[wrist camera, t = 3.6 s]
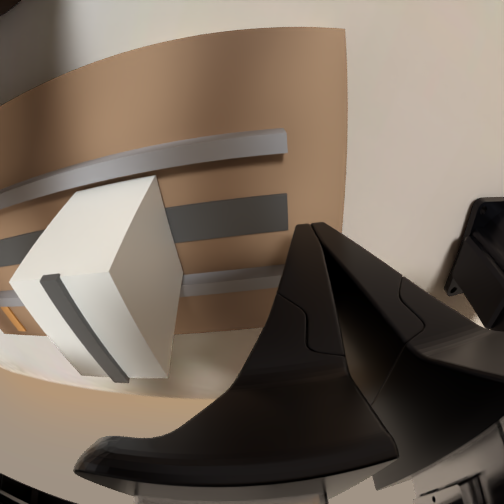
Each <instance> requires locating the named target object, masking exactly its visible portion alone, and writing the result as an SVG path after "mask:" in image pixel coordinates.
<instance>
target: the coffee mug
mask: <svg viewBox="0 0 504 504" xmlns="http://www.w3.org/2000/svg"><path fill="white" fill-rule="evenodd" d="M20 1H21V0H0V16H1V15H3V14H5V13H6V12H7V11H9V10H10V9H11V8H13V7H14V6H15V5H16V4H18V3H19V2H20Z"/></svg>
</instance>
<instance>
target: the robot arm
mask: <svg viewBox="0 0 504 504" xmlns="http://www.w3.org/2000/svg"><path fill="white" fill-rule="evenodd" d="M444 290H445V292H446V294H447V295H448V296H453V295H457V294H461V293H464V295H465V296H466V298H467V299H468V301H469V302H470V304H471V306H472V307H473V309H474V310H475V312H476V314H477V315H478V317H479V319H480V320H481V322H482V324H483V325H484V327H485V328H486V329H485V328H483V327H481V326H479V325H477V324H476V323H474V322H472V321H471V320H469V319H468V318H466V317H465V316H463V315H461V314H460V313H458V312H457V311H455V310H454V309H452V308H450V307H449V306H447V305H446V304H444V303H442V302H441V301H439V300H438V299H436V298H435V297H433V296H432V295H430V294H428V293H427V292H425V291H424V290H423V289H421V288H420V287H418V286H417V285H415V284H414V283H413V282H411V281H410V280H408V279H407V278H406V277H404V276H403V277H402V275H401V274H400V273H399V272H397V271H396V270H394V269H393V268H392V267H390V266H389V265H387V264H386V263H384V262H383V261H382V260H380V259H379V258H377V257H376V256H374V255H373V254H371V253H370V252H369V251H367V250H366V249H364V248H363V247H361V246H360V245H358V244H357V243H355V242H354V241H352V240H351V239H349V238H348V237H346V236H345V235H343V234H342V233H340V232H339V231H337V230H336V229H334V228H333V227H331V226H329V225H328V224H326V223H325V222H316V223H311V224H309V223H306V224H297V225H296V226H295V230H294V233H293V237H292V240H291V244H290V247H289V251H288V254H287V258H286V261H285V265H284V268H283V272H282V275H281V279H280V282H279V286H278V289H277V292H276V295H275V298H274V302H273V305H272V308H271V311H270V313H269V316H268V319H267V321H266V323H265V325H264V328H263V330H262V332H261V334H260V336H259V338H258V340H257V342H256V344H255V345H254V347H253V349H252V351H251V353H250V355H249V357H248V359H247V361H246V362H245V364H244V366H243V368H242V370H241V372H240V373H239V375H238V377H237V378H236V380H235V381H234V383H233V384H232V385H231V387H230V388H229V389H228V390H227V391H226V392H225V393H224V394H223V395H221V396H220V397H219V398H218V399H216V400H215V401H214V402H213V403H211V404H210V405H209V406H207V407H206V408H205V409H203V410H202V411H201V412H200V413H198V414H197V415H195V416H194V417H193V418H191V419H190V420H189V421H187V422H186V423H185V424H183V425H182V426H181V427H179V428H178V429H176V430H175V431H172V432H171V433H168V434H165V435H163V436H159V437H153V438H132V437H121V436H106V437H102V438H100V439H98V440H97V441H96V442H95V443H94V444H93V445H91V446H90V447H89V448H88V449H87V450H86V451H85V452H84V453H83V454H82V455H81V457H80V458H79V459H78V461H77V463H76V464H75V466H74V470H73V471H74V473H75V474H77V475H78V476H80V477H82V478H84V479H87V480H89V481H92V482H94V483H97V484H99V485H102V486H105V487H107V488H111V489H113V490H116V491H119V492H122V493H125V494H128V495H132V496H134V504H329V502H328V499H330V498H332V497H334V496H336V495H338V494H340V493H342V492H344V491H346V490H348V489H349V488H351V487H353V486H355V485H357V484H358V483H360V482H362V481H364V480H365V479H367V478H369V477H370V476H373V480H374V484H375V488H376V490H380V489H384V488H387V487H390V486H393V485H396V484H399V483H402V482H405V481H407V480H410V479H412V482H413V486H414V490H415V494H416V499H414V500H413V504H504V197H486V198H479V199H477V200H476V201H475V203H474V205H473V207H472V211H471V214H470V218H469V221H468V224H467V228H466V231H465V234H464V237H463V240H462V243H461V246H460V249H459V251H458V254H457V257H456V260H455V262H454V265H453V268H452V270H451V273H450V275H449V278H448V280H447V283H446V285H445V288H444ZM489 329H490V330H489ZM0 504H77V503H74V502H71V501H68V500H64V499H62V498H59V497H56V496H53V495H51V494H48V493H45V492H43V491H40V490H37V489H35V488H32V487H30V486H28V485H25V484H23V483H21V482H19V481H16V480H14V479H12V478H10V477H8V476H6V475H4V474H2V473H0Z"/></svg>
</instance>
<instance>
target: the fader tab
mask: <svg viewBox="0 0 504 504" xmlns="http://www.w3.org/2000/svg"><path fill="white" fill-rule="evenodd" d="M182 277H183V270H182V267H181V264H180V260H179V257H178V254H177V250H176V247H175V244H174V240H173V237H172V233H171V230H170V226H169V223H168V219H167V216H166V212H165V208H164V205H163V201H162V197H161V193H160V190H159V186H158V182H157V178H156V175H152V176H146V177H141V178H136V179H130V180H126V181H121V182H116V183H111V184H106V185H102V186H98V187H93V188H89V189H85V190H80V191H76V192H75V194H74V195H73V196H72V197H71V198H70V199H69V201H68V202H67V203H66V204H65V205H64V206H63V208H62V209H61V210H60V211H59V213H58V214H57V215H56V216H55V218H54V219H53V220H52V221H51V223H50V224H49V225H48V226H47V228H46V229H45V230H44V232H43V233H42V234H41V236H40V237H39V238H38V240H37V241H36V242H35V244H34V245H33V247H32V248H31V249H30V251H29V252H28V254H27V255H26V257H25V258H24V259H23V261H22V262H21V264H20V265H19V267H18V268H17V270H16V271H15V273H14V275H13V276H12V278H11V279H10V281H9V283H10V285H11V286H12V288H13V289H14V291H15V292H16V294H17V295H18V297H19V298H20V300H21V301H22V303H23V304H24V305H25V307H26V308H27V310H28V311H29V312H30V314H31V315H32V317H33V318H34V319H35V321H36V322H37V323H38V325H39V326H40V327H41V328H42V330H43V331H44V332H45V334H46V335H47V336H48V337H49V339H50V340H51V341H52V342H53V343H54V345H55V346H56V347H57V348H58V349H59V351H60V352H61V353H62V354H63V355H64V356H65V358H66V359H67V360H68V361H69V362H70V363H71V364H72V365H73V367H74V368H75V369H76V370H77V371H78V372H79V373H80V374H81V375H83V376H98V377H110V378H111V379H112V380H113V381H114V382H116V383H129V380H130V378H169V370H170V361H171V353H172V345H173V337H174V330H175V323H176V316H177V309H178V302H179V295H180V289H181V283H182Z"/></svg>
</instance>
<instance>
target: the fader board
mask: <svg viewBox="0 0 504 504" xmlns="http://www.w3.org/2000/svg"><path fill="white" fill-rule="evenodd" d="M347 113H348V102H347V58H346V39H345V29H339V28H320V27H277V28H257V29H245V30H234V31H225V32H217V33H210V34H204V35H198V36H192V37H186V38H181V39H176V40H171V41H167V42H162V43H158V44H154V45H150V46H146V47H142V48H138V49H134V50H131V51H127V52H124V53H121V54H118V55H114V56H111V57H108V58H105V59H102V60H99V61H96V62H94V63H91V64H88V65H85V66H83V67H80V68H78V69H75V70H73V71H70V72H68V73H65V74H63V75H61V76H58V77H56V78H54V79H52V80H49V81H47V82H45V83H43V84H41V85H39V86H37V87H35V88H33V89H31V90H29V91H27V92H25V93H23V94H21V95H19V96H17V97H15V98H14V99H12V100H10V101H8V102H7V103H5V104H3V105H1V106H0V329H1V330H2V331H3V333H4V334H18V335H37V336H47V335H46V334H45V332H44V331H43V330H42V328H41V327H40V326H39V325H38V323H37V322H36V321H35V319H34V318H33V317H32V315H31V314H30V312H29V311H28V310H27V308H26V307H25V305H24V304H23V303H22V301H21V300H20V298H19V297H18V295H17V294H16V292H15V291H14V289H13V288H12V286H11V285H10V283H9V281H10V279H11V278H12V276H13V275H14V273H15V271H16V270H17V268H18V267H19V265H20V264H21V262H22V261H23V259H24V258H25V257H26V255H27V254H28V252H29V251H30V249H31V248H32V247H33V245H34V244H35V242H36V241H37V240H38V238H39V237H40V236H41V234H42V233H43V232H44V230H45V229H46V228H47V226H48V225H49V224H50V223H51V221H52V220H53V219H54V218H55V216H56V215H57V214H58V213H59V211H60V210H61V209H62V208H63V206H64V205H65V204H66V203H67V202H68V201H69V199H70V198H71V197H72V196H73V195H74V194H75V192H76V191H80V190H85V189H89V188H93V187H98V186H102V185H106V184H111V183H116V182H121V181H126V180H130V179H136V178H141V177H146V176H152V175H156V178H157V182H158V186H159V190H160V193H161V197H162V201H163V205H164V208H165V212H166V216H167V219H168V223H169V226H170V230H171V233H172V237H173V240H174V244H175V247H176V250H177V254H178V257H179V260H180V264H181V267H182V270H183V277H182V283H181V289H180V295H179V302H178V309H177V316H176V323H175V330H174V334H190V333H204V332H217V331H229V330H240V329H250V328H259V327H264V325H265V323H266V321H267V319H268V316H269V313H270V311H271V308H272V305H273V302H274V298H275V295H276V292H277V289H278V286H279V282H280V279H281V275H282V272H283V268H284V265H285V261H286V258H287V254H288V251H289V247H290V244H291V240H292V237H293V233H294V230H295V226H296V225H297V224H306V223H309V224H311V223H316V222H325V223H326V224H328V225H329V226H331V227H333V228H334V229H336V230H337V231H339V232H340V233H342V223H343V210H344V196H345V180H346V159H347Z"/></svg>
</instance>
